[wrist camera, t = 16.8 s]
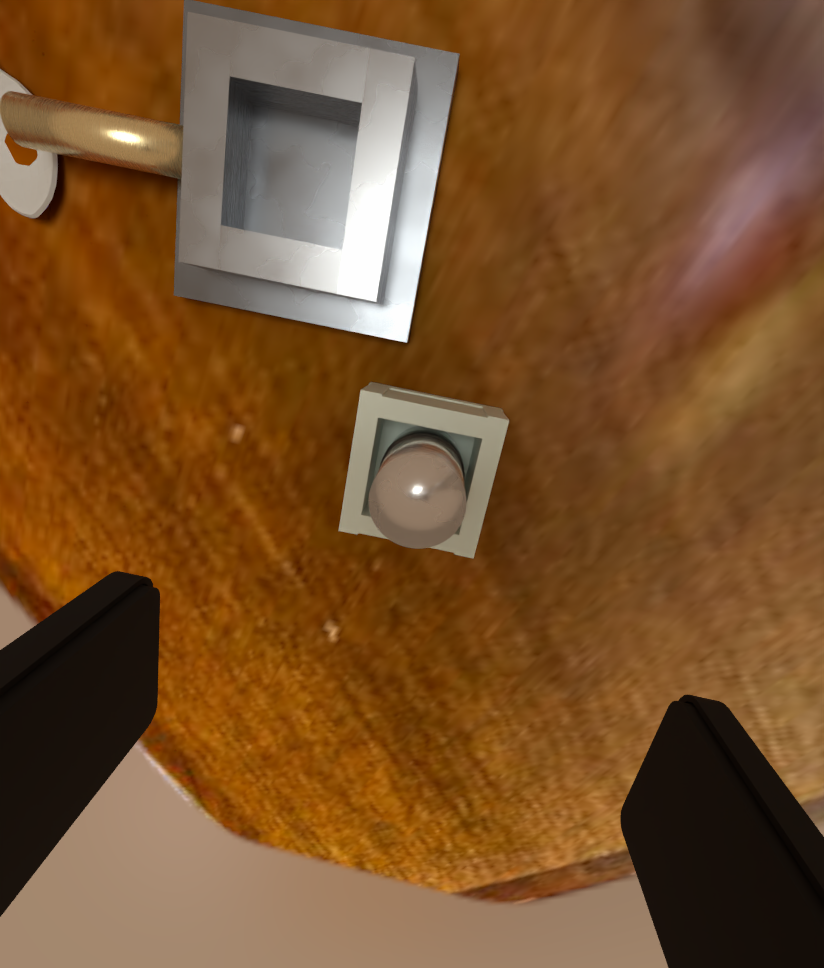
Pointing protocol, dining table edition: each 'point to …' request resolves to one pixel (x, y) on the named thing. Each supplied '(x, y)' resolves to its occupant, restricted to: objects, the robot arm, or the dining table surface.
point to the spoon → (25, 169)
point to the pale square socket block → (403, 408)
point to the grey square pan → (283, 165)
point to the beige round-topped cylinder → (419, 489)
